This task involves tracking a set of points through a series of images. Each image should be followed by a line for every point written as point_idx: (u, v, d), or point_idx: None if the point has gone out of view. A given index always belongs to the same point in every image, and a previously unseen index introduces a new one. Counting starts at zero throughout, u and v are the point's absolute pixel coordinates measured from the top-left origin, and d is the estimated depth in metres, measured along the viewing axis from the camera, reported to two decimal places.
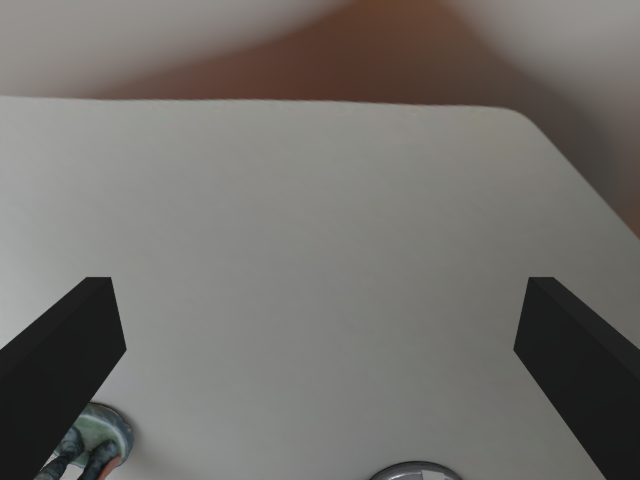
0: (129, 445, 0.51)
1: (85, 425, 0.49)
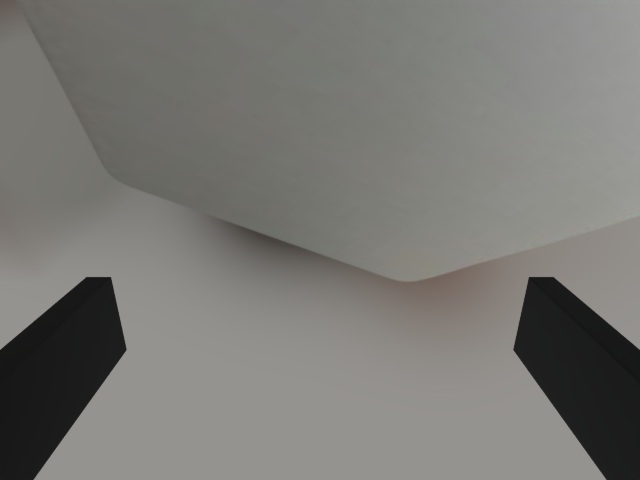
0: None
1: None
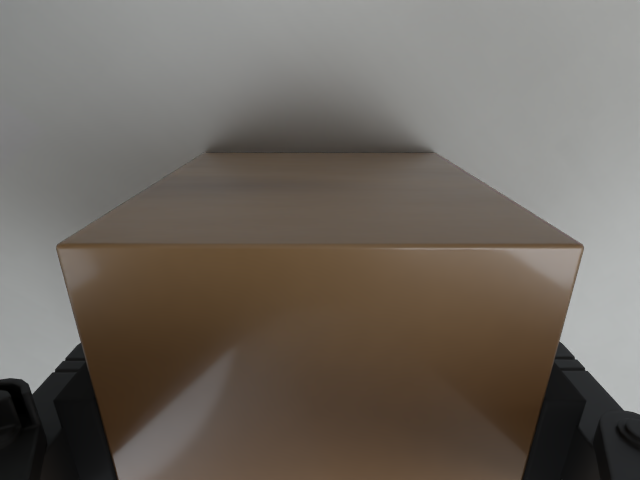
0: None
1: None
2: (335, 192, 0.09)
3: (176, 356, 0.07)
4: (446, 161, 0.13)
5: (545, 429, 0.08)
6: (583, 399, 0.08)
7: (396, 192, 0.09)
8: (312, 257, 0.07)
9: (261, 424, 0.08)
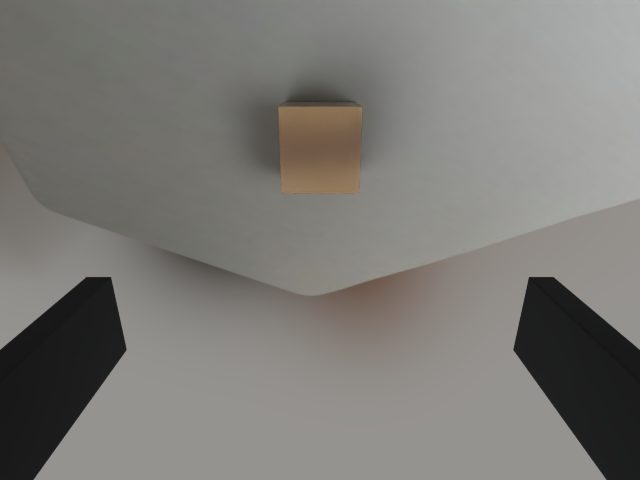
0: None
1: None
2: (323, 104, 0.44)
3: (295, 128, 0.42)
4: (354, 102, 0.47)
5: None
6: None
7: (336, 104, 0.44)
8: (319, 108, 0.41)
9: (309, 144, 0.42)
